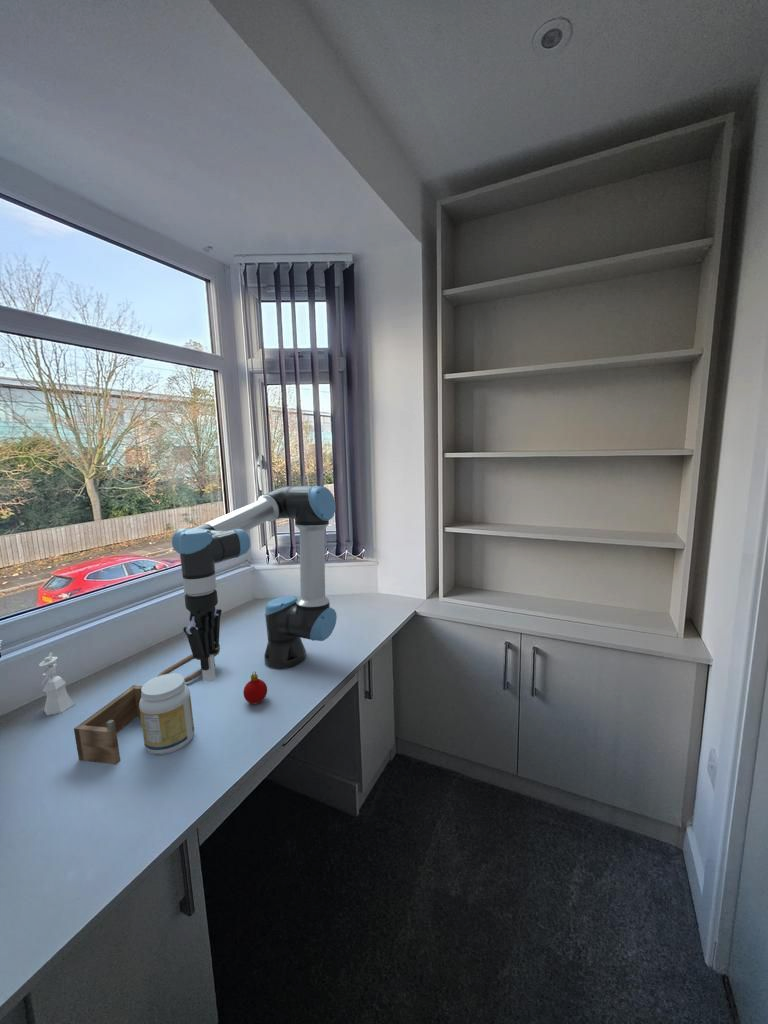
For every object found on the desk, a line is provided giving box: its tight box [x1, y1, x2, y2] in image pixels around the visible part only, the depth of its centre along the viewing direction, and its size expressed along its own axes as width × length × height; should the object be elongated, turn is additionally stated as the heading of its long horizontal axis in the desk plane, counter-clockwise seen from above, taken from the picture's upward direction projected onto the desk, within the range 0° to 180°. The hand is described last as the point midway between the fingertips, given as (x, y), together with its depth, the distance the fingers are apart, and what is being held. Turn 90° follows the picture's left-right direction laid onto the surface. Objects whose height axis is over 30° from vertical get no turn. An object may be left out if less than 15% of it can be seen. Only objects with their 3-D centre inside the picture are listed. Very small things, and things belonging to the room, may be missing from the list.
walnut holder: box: [73, 685, 143, 766], centre depth 117 cm, size 11×20×11 cm, turn 170°
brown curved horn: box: [156, 644, 221, 683], centre depth 151 cm, size 24×9×19 cm
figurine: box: [38, 652, 75, 716], centre depth 131 cm, size 7×8×18 cm
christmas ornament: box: [242, 671, 268, 705], centre depth 131 cm, size 7×7×10 cm
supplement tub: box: [139, 673, 195, 755], centre depth 114 cm, size 12×12×17 cm
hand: (209, 678), depth 110 cm, fingers closed
